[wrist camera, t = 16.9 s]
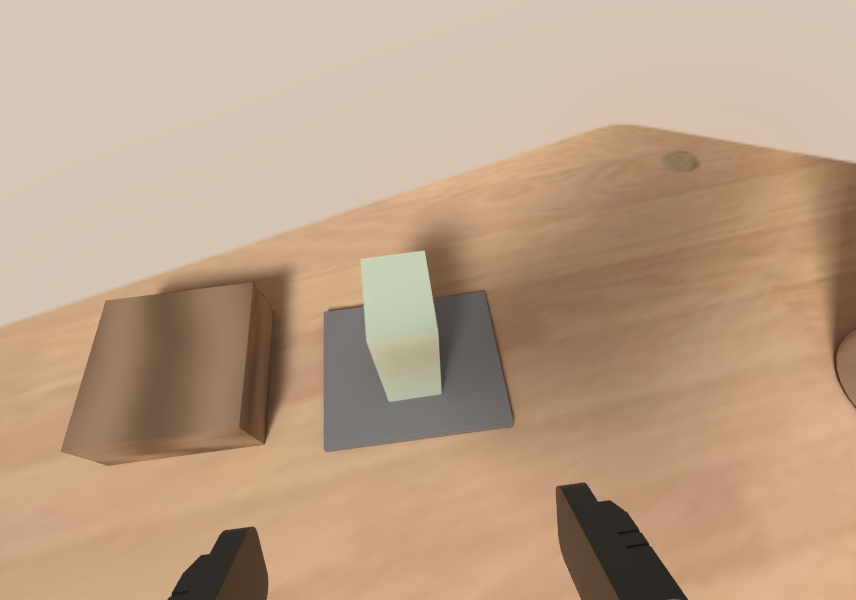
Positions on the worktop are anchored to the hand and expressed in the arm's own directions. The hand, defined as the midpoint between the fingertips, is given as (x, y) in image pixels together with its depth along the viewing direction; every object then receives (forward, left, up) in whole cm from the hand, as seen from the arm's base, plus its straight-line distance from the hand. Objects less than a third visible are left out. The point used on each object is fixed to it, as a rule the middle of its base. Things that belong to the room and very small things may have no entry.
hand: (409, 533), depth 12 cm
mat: (0, -11, -16) cm, 19 cm away
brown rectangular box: (+15, -12, -16) cm, 25 cm away
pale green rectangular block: (0, -11, -15) cm, 19 cm away
